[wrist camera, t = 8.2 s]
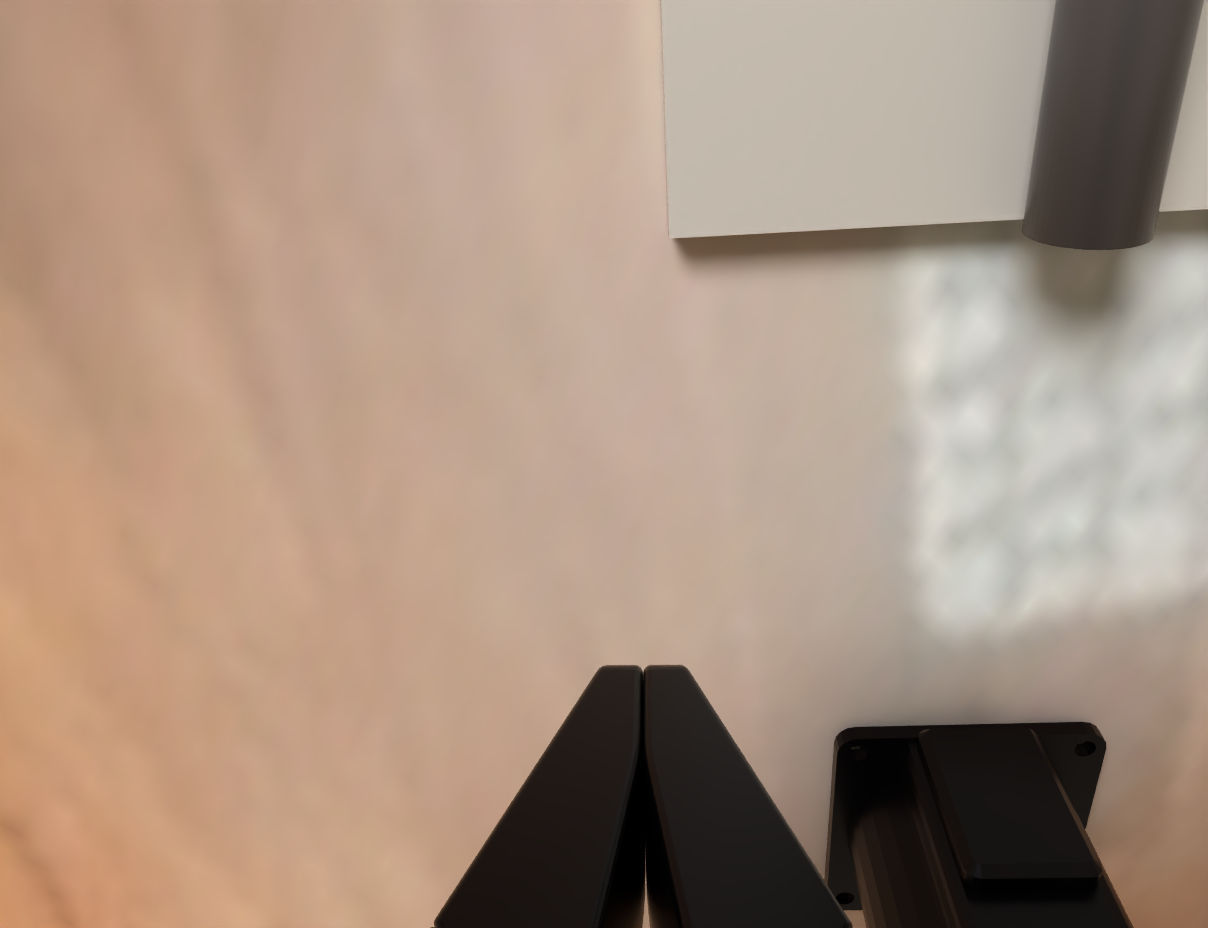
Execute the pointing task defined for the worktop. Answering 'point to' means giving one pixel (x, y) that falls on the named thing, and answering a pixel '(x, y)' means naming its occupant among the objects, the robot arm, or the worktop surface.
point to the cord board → (935, 115)
